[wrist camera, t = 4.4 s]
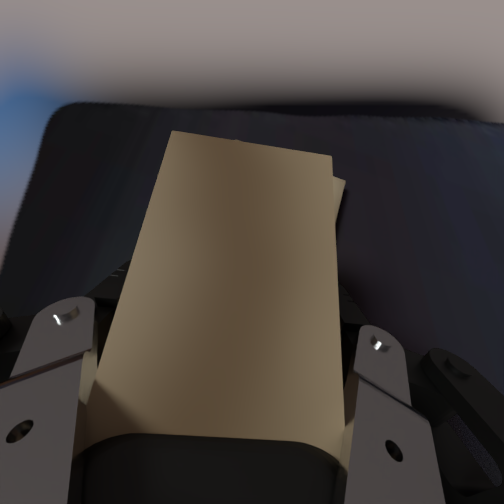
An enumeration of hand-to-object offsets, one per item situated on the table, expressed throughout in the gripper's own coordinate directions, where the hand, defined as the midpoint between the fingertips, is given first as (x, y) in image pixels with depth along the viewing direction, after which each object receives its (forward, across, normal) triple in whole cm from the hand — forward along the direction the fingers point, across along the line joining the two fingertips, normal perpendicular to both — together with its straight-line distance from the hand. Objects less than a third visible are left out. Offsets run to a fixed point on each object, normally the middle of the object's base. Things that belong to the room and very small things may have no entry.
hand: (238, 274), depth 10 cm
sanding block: (+2, 0, +4) cm, 5 cm away
